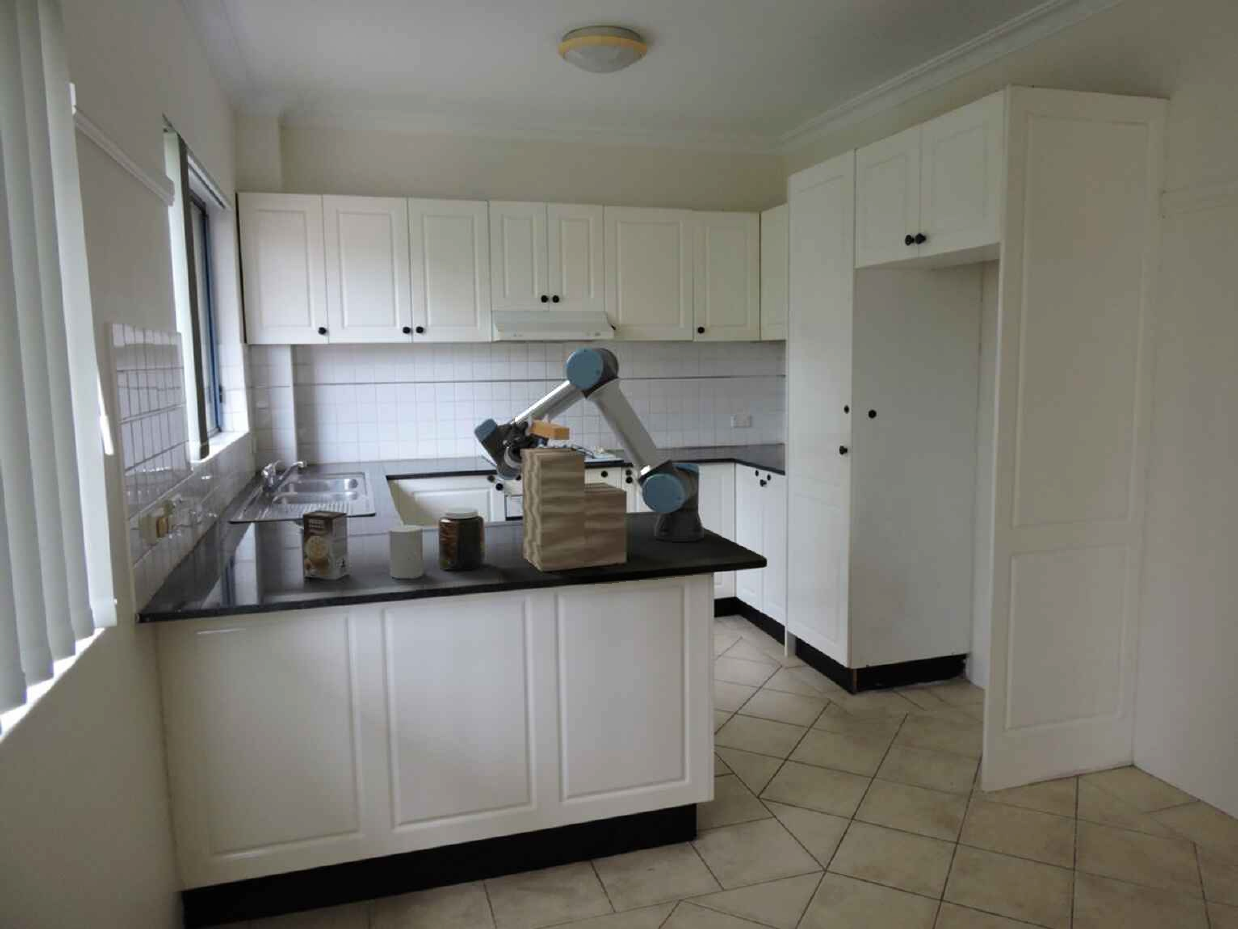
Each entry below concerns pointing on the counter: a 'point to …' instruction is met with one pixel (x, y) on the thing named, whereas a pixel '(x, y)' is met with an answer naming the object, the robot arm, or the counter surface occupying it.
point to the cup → (406, 551)
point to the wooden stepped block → (569, 513)
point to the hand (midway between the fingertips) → (540, 418)
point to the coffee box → (325, 544)
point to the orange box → (550, 430)
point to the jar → (461, 540)
